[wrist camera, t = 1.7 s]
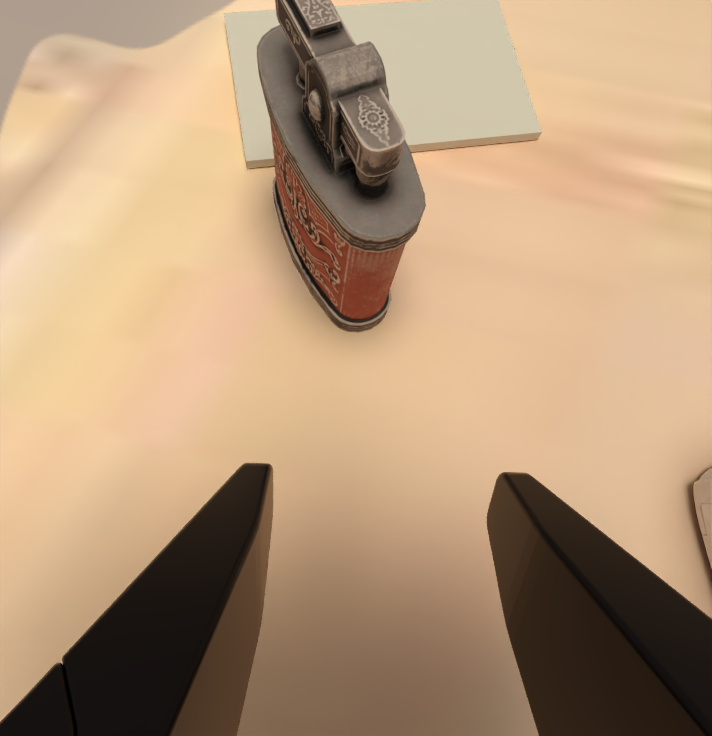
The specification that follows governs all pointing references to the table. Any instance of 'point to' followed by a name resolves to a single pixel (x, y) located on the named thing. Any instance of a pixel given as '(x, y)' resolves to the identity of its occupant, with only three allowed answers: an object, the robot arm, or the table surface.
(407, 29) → the mat
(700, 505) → the photo printer
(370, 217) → the lighter
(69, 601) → the table surface
